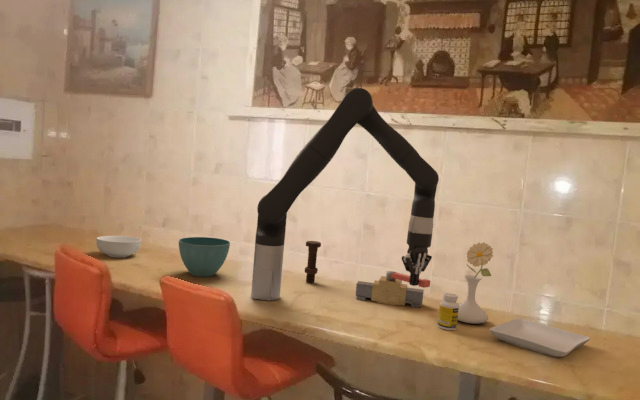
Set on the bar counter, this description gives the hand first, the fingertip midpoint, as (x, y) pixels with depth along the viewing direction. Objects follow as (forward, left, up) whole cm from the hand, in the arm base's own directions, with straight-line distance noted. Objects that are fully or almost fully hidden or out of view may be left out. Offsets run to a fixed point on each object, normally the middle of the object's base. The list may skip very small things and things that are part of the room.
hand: (413, 285), depth 177 cm
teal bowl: (+11, +76, -9) cm, 77 cm away
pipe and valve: (+9, +8, -9) cm, 15 cm away
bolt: (+21, +38, -9) cm, 44 cm away
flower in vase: (-2, -18, -9) cm, 20 cm away
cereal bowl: (+22, +117, -9) cm, 119 cm away
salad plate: (-14, -36, -9) cm, 40 cm away
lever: (+5, +2, -1) cm, 6 cm away
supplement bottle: (-12, -11, -9) cm, 19 cm away
